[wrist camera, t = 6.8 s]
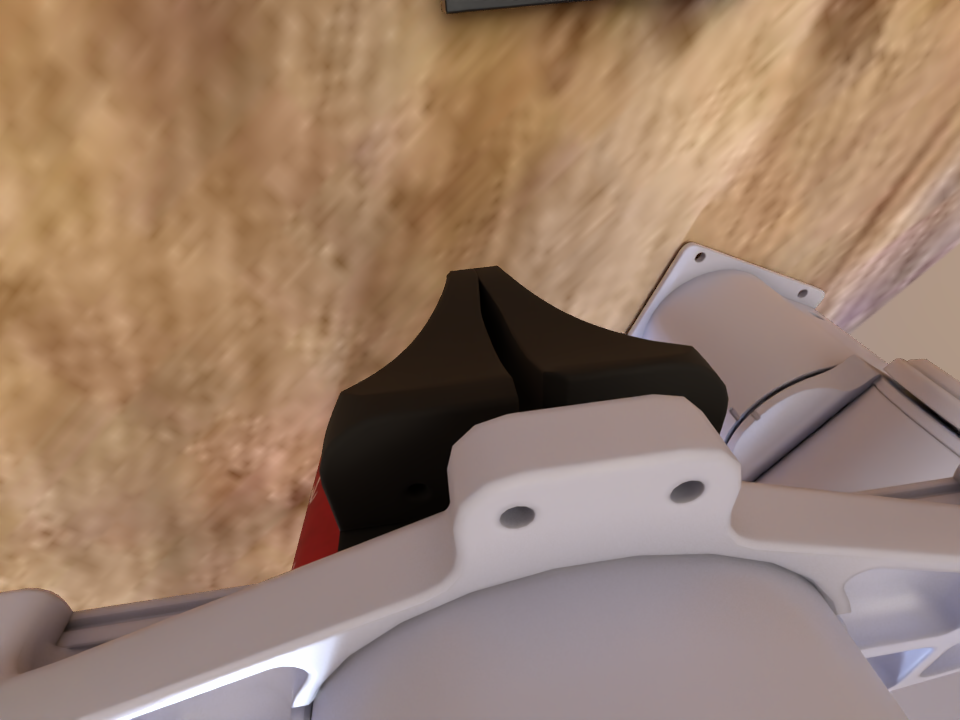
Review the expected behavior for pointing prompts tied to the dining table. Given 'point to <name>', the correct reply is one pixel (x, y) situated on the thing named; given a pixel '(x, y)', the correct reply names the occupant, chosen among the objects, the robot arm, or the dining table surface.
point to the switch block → (493, 4)
